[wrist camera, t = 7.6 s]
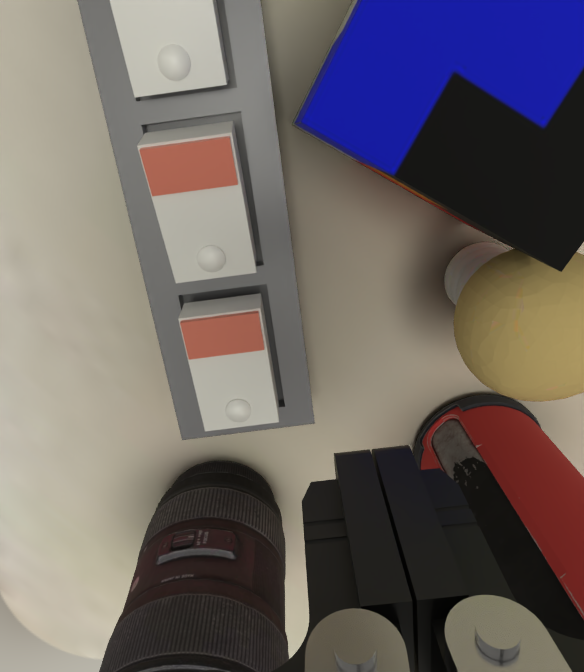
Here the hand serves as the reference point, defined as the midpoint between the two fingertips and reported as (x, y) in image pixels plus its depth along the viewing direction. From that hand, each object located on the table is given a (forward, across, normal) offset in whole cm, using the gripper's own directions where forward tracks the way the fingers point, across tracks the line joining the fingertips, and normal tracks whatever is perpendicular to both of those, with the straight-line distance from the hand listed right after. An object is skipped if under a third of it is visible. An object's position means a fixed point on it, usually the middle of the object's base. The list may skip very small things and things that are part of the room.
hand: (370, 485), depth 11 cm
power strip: (+18, +5, -4) cm, 19 cm away
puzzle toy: (+19, -7, -8) cm, 21 cm away
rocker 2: (+15, +4, -4) cm, 16 cm away
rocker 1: (+15, +5, -11) cm, 19 cm away
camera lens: (+18, +7, +15) cm, 25 cm away
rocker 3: (+15, +4, +4) cm, 16 cm away
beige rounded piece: (+18, -8, +2) cm, 20 cm away
